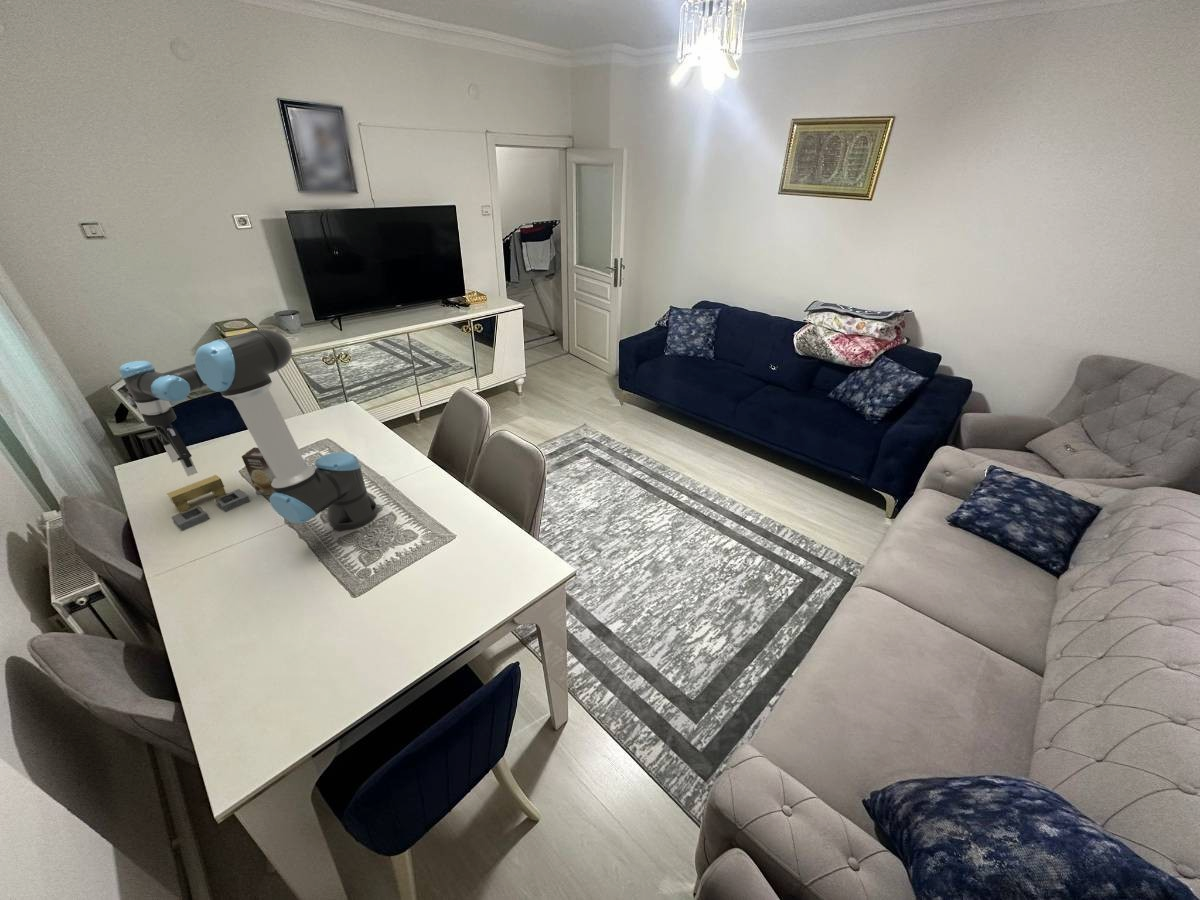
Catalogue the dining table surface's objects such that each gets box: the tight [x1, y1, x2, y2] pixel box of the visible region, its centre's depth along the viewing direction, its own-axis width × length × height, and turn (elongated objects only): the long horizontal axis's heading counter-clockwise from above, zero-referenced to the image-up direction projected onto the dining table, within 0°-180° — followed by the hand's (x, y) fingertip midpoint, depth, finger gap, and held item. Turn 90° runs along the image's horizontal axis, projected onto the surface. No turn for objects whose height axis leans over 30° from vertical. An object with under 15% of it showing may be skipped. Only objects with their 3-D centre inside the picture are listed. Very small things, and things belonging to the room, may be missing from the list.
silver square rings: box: [171, 488, 251, 531], centre depth 162 cm, size 7×20×2 cm, turn 144°
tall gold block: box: [166, 474, 227, 514], centre depth 166 cm, size 4×14×6 cm, turn 144°
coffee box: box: [241, 447, 275, 496], centre depth 170 cm, size 9×6×16 cm
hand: (184, 467), depth 161 cm, fingers open, 13 cm apart
